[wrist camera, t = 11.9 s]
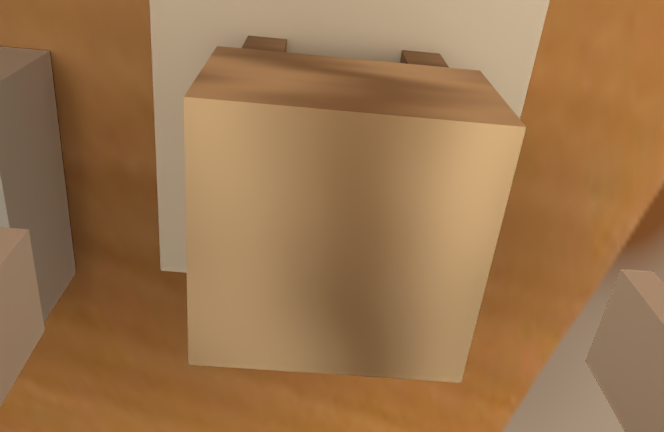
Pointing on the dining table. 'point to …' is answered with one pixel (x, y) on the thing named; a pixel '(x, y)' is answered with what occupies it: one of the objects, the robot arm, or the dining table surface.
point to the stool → (341, 210)
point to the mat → (325, 40)
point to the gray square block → (34, 168)
